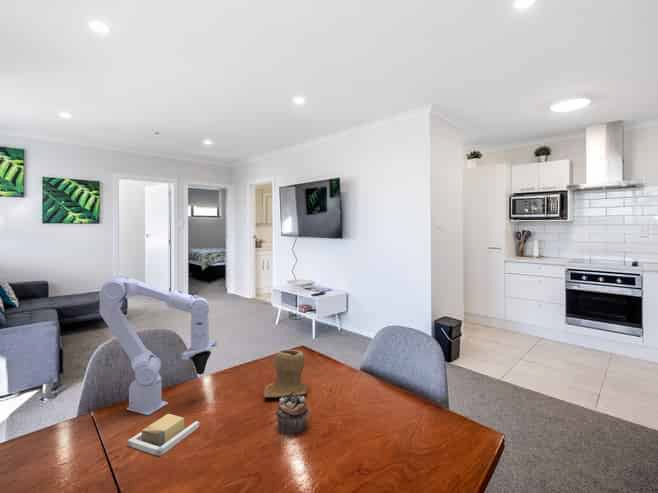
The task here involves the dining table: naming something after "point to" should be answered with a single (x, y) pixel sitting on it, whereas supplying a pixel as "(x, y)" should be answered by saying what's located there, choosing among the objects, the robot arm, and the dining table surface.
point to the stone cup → (287, 374)
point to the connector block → (163, 430)
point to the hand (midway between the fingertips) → (200, 373)
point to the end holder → (159, 451)
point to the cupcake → (292, 414)
